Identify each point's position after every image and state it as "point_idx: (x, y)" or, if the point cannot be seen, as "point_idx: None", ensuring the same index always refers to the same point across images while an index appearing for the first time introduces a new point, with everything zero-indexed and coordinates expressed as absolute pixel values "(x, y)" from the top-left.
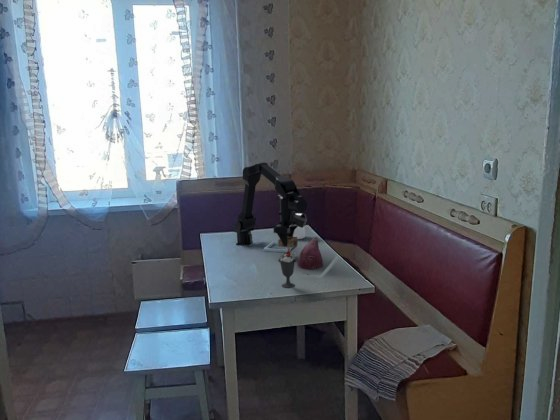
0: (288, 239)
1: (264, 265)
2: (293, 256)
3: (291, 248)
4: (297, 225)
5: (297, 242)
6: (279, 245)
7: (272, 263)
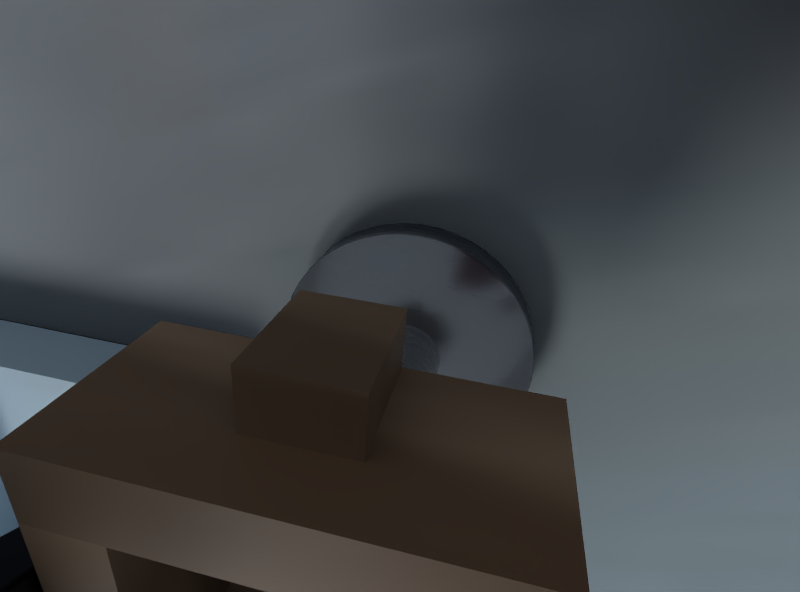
0: (180, 590)
1: (756, 587)
2: (400, 276)
3: (53, 354)
4: None
5: (274, 333)
6: None
7: (665, 509)
